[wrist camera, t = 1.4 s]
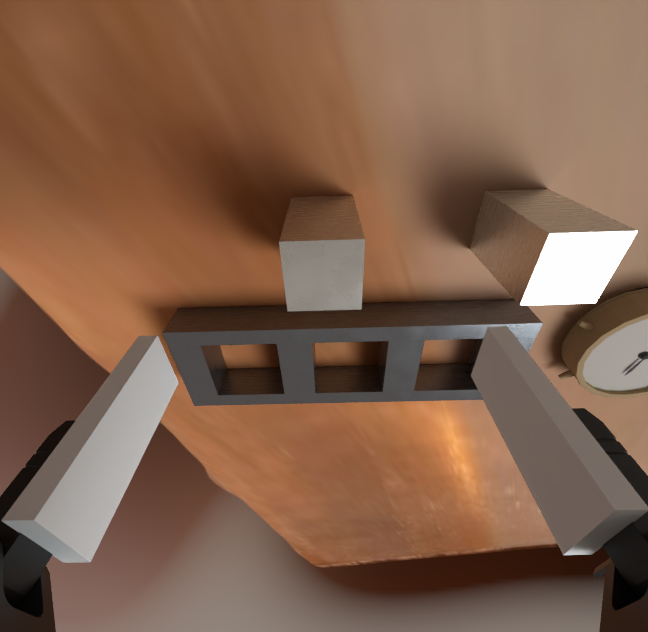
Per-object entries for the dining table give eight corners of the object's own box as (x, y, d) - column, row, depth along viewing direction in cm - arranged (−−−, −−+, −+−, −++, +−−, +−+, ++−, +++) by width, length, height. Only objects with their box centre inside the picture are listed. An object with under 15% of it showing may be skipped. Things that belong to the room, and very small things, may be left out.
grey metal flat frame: (178, 308, 29) (162, 332, 26) (520, 299, 28) (542, 323, 25) (204, 379, 34) (194, 405, 31) (490, 372, 34) (505, 399, 31)
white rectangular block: (485, 190, 23) (549, 233, 16) (548, 189, 23) (638, 230, 16) (469, 249, 25) (519, 305, 19) (526, 247, 25) (595, 303, 19)
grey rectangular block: (291, 197, 23) (278, 241, 16) (353, 195, 23) (365, 239, 16) (296, 254, 26) (287, 311, 19) (351, 252, 25) (361, 309, 19)
